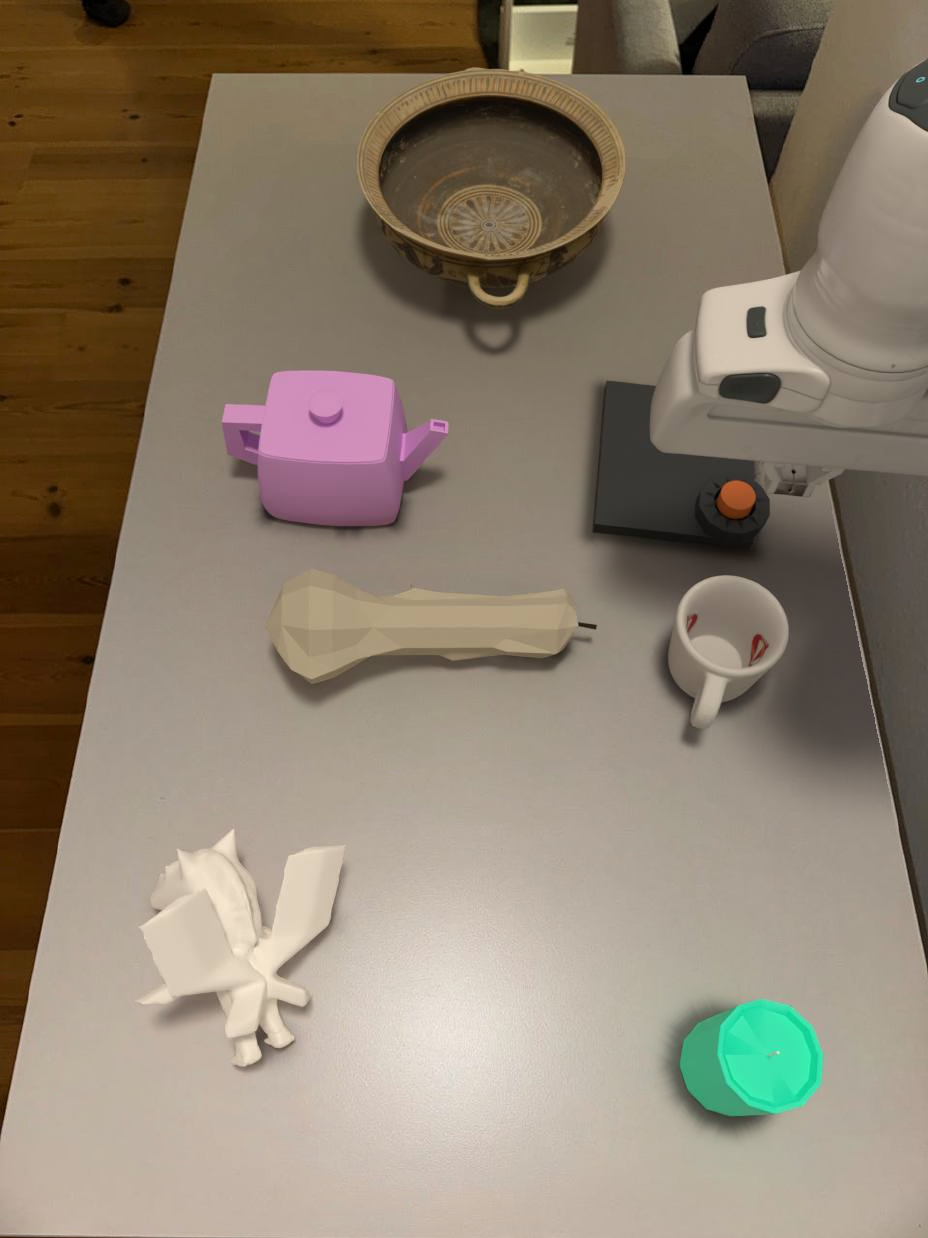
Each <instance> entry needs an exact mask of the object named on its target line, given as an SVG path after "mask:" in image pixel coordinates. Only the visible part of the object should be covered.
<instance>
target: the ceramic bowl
mask: <svg viewBox="0 0 928 1238" xmlns="http://www.w3.org/2000/svg"><path fill="white" fill-rule="evenodd" d="M626 158H627V157H626V150H625V146H624V142H623V139H622V137H621V135H620V132H619V131H618V128H617V127H616V125H615V123H614V122H613V121H612V119H611V118H610V117H609V115H608V114H607V113H606V112H605V111H604V109H602V108H601V106H599V105H598V104H597V103H596V102H595V101H594V100H592V99H591V98H589V97H588V96H586V95H585V94H584V93H583V92H580V91H579V90H577V89H575V88H574V87H572V86H570V85H568V84H565V83H563V82H561V81H558V80H555V79H552V78H550V77H547V76H544V75H540V74H537V73H536V74H535V73H531V72H527V71H522V70H509V69H505V68H491V69H490V68H483V67H476V66H475V67H469V68H466V69H464V70H460V71H453V72H450V73H446V74H445V75H443V74H442V75H439V76H435V77H431V78H430V79H426V80H425V81H424V82H419V83H417V84H415V85H413V86H411V87H409V88H407V89H406V90H404V91H402V92H400V93H398V94H397V95H396V96H394V97H392V98H391V99H390V100H389V101H387V102H386V103H385V104H384V105H383V106H382V107H381V108H380V109H379V110H378V111H377V112H376V113H375V114H374V116H373V117H372V118H371V119H370V121H369V122H368V124H367V125H366V126H365V129H364V131H363V132H362V134H361V137H360V139H359V142H358V146H357V150H356V164H355V165H356V174H357V175H356V176H357V181H358V183H359V186H360V188H361V191H362V194H363V196H364V199H366V201H367V203H368V204H369V205H370V207H371V209H372V210H373V212H374V216H375V219H376V221H377V224H378V227H379V228H380V230H381V233H382V234H383V236H384V237H385V238H386V240H387V241H388V242H389V244H390V245H391V246H392V248H394V250H395V251H396V252H397V253H398V254H399V255H400V256H402V257H403V258H404V259H405V260H406V261H408V262H409V263H410V264H411V265H413V266H414V267H416V268H417V269H419V270H421V271H422V272H425V273H426V274H429V276H433V277H435V278H438V279H441V280H443V281H446V282H448V283H449V282H450V283H453V284H457V285H461V286H467V287H468V288H469V291H470V293H471V294H472V297H474V298H475V300H477V301H478V303H480V304H482V305H484V306H486V307H487V308H494V309H507V308H510V307H513V306H515V305H517V304H518V303H520V302H521V301H522V300H523V298H524V297H525V295H526V293H527V291H528V287H529V284H530V283H533V282H536V281H540V280H541V279H544V278H547V277H549V276H552V275H553V274H555V273H557V272H559V271H560V270H562V269H564V268H566V267H567V266H568V265H570V264H571V263H573V262H574V261H576V260H577V259H578V258H579V257H580V256H581V255H582V254H583V253H584V252H585V251H586V250H587V249H588V248H589V246H590V245H591V244H592V243H593V241H594V240H595V239H596V237H597V235H598V234H599V232H600V230H601V229H602V226H603V224H604V220H605V218H606V216H607V214H608V213H609V212H610V211H611V210H612V208H613V206H614V204H615V202H616V200H617V199H618V196H619V194H620V192H621V190H622V186H623V183H624V180H625V177H626V168H627V159H626ZM509 287H510V288H511V287H514V289H513V290H512V291H511V292H510V293H509V294H507V295H504V296H494V295H491V294H488V293H487V292H486V291H484V290H483V288H494V289H496V288H498V289H499V288H509Z"/></svg>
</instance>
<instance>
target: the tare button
mask: <svg viewBox="0 0 928 1238" xmlns="http://www.w3.org/2000/svg"><path fill="white" fill-rule="evenodd" d="M755 500H756V495H755V492H754V490H753V488H752V487H751V486H750V485H748V484H747V483H745V482H742V481H730V482H728V483H726V484H725V485H724V486H723V487H722V489H721V492H720V494H719V496H718V499H717V507H718V510H719V511H720V512H721V514H723V515H724V516H725V517H727V518H730V519H742V518H744V517H746V516H747V515H748V514H749V513H750V511H751V509H752V507H753V505H754V503H755Z"/></svg>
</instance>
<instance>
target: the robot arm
mask: <svg viewBox="0 0 928 1238" xmlns="http://www.w3.org/2000/svg"><path fill="white" fill-rule="evenodd" d="M655 386H656V388H655V391H654V394H653V398H652V403H651V412H650V440H651V442H652V443H653V444H654V446H655V447H656V448H657V449H658V450H660V451H661V452H664V453H673V454H686V455H697V456H708V457H719V458H729V459H740V460H751V461H754V462H761V466H762V469H763V470H764V472H765V473H764V478H763V479H764V480H763V481H764V491H765V493H766V494H767V495H782V496H791V497H800V498H810V497H811V495H813V493H814V492H813V491H815V489H816V486H820V485H822V484H823V483H825V482H828V481H830V480H832V479H834V478H836V477H838V476H840V475H843V473H844V471H845V470H849V471H850V470H851V471H863V472H873V473H884V474H895V475H906V476H917V477H928V57H927V58H924V59H923V60H922V61H920V62H918V63H917V64H915V65H913V66H912V67H911V68H909V69H908V70H907V71H906V72H904V73H903V74H902V75H901V76H899V77H898V78H897V79H896V80H895V82H893V84H891V86H890V87H889V88H888V89H887V90H886V91H885V93H884V94H883V95H882V96H881V98H880V99H879V100H878V102H877V104H876V105H875V107H874V108H873V109H872V111H871V112H870V114H869V115H868V117H867V119H866V120H865V122H864V124H863V126H862V127H861V129H860V131H859V133H858V134H857V137H856V139H855V140H854V142H853V143H852V145H851V148H850V150H849V152H848V154H847V156H846V158H845V160H844V163H843V165H842V167H841V169H840V172H839V173H838V175H837V178H836V180H835V183H834V184H833V187H832V189H831V192H830V194H829V196H828V199H827V201H826V204H825V206H824V209H823V212H822V214H821V217H820V221H819V225H818V231H817V247H816V251H815V252H814V253H813V254H812V255H811V257H810V258H809V259H808V260H807V261H806V263H805V264H803V267H802V268H801V269H800V270H798V271H794V272H791V273H788V274H784V275H779V276H776V277H772V278H767V279H762V280H757V281H749V282H744V283H739V284H732V285H725V286H719V287H714V288H710V289H708V290H707V291H705V292H704V293H703V294H702V295H701V297H700V299H699V302H698V306H697V312H696V317H695V325H694V328H693V329H691V330H689V331H688V332H686V333H684V334H683V335H682V336H681V337H680V338H679V339H678V340H677V342H676V343H674V346H673V348H672V349H671V351H670V353H669V355H668V357H667V359H666V361H665V362H664V365H663V368H662V370H661V372H660V375H659V377H658V380H657V382H656V385H655Z"/></svg>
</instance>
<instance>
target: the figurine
mask: <svg viewBox="0 0 928 1238" xmlns="http://www.w3.org/2000/svg"><path fill="white" fill-rule="evenodd" d="M235 829H236V828H232V829H231V830H230V831H229V832H228V833H227V834H225V835H224V836H223V837H222V838H221V839H219V840H218V841H217V842H216V843H215V844H213V845H212V846H211V847H209V848H208V847H207V848H199V849H198V850H194V851H192V853H191V852H188V851H186V850H183V849H180V848H176V854H177V860H175V861H173V862H171V863H169V864H167V865H165V866H164V873H159V877H158V881H157V884H156V887H155V888H154V890H153V891H152V893H151V895H150V896H149V903H150V906H151V907H152V908H153V909H155V910H158V911H159V910H160V911H159V912H157V914H156V915H154V916H153V917H152V918H150V919H149V920H148V921H147V922H145V923H143V924H142V925H139V926H138V930H140V931H142V934H143V938H144V942H145V943H146V946H147V947H148V949H149V951H150V952H151V956H152V961H153V963H154V964H155V966H156V967H157V969H158V972H159V974H160V977H161V978H162V979H163V983H161V984H160V985H159V986H157V987H156V988H153V989H152V990H151V991H149V992H147V993H146V994H143V995H142V996H140V997H138V998H137V999H135V1000H134V1001H133V1003H135V1004H140V1005H143V1006H153V1005H156V1006H157V1005H158V1006H163V1005H166V1004H169V1003H172V1002H174V1001H176V1000H177V999H179V998H180V997H183V996H191V995H199V994H207V993H212V992H213V993H216V995H217V998H218V1000H219V1002H220V1006H221V1007H222V1010H223V1013H224V1015H225V1018H226V1021H225V1025H224V1029H223V1030H224V1034H225V1038H227V1039H231V1040H232V1042H233V1044H234V1047H235V1049H236V1051H235V1054H234V1055H233V1056H231V1057H230V1058H229V1059H230V1060H229V1062H230V1064H231V1065H233V1066H234V1065H235V1066H238V1067H242V1068H243V1067H244V1068H245V1067H247V1066H248V1065H253V1064H256V1063H257V1062H258V1061H260V1060H261V1059H262V1055H263V1054H262V1051H261V1048H260V1046H259V1044H258V1039H257V1035H256V1032H257V1030H258V1029H259V1026H260V1028H261V1029H262V1030H263V1032H264V1033H265V1034H266V1035H267V1037H266V1038H265V1039H264V1040H263V1042H264V1043H265V1044H266V1045H268V1046H269V1045H270V1046H272V1047H273V1048H276V1049H282V1048H284V1047H286V1046H289V1044H291V1043H292V1042H293V1041H294V1040H295V1036H294V1034H292V1033H291V1032H290V1030H289V1029H287V1027H286V1025H285V1023H284V1021H283V1019H282V1018H281V1015H280V1012H279V1011H280V1010H279V1008H278V1000H279V1001H282V1002H285V1003H288V1004H291V1005H294V1006H297V1007H306V1005H307V1004H308V1002H309V1001H310V998H311V993H310V990H309V989H308V988H307V986H305V985H304V984H301V983H298V982H296V981H293V980H290V979H287V978H284V977H282V976H280V975H278V973H277V971H278V970H279V968H281V967H282V966H283V965H285V963H287V962H288V961H289V960H290V959H291V958H292V957H294V956H295V955H296V954H297V953H299V952H300V951H301V950H302V949H303V948H304V947H306V946H307V945H308V944H309V943H310V942H311V941H312V940H314V939H315V938H316V937H317V936H318V935H319V934H320V933H322V932H323V931H324V930H326V928H327V927H328V926H329V925H330V921H331V919H332V909H333V907H334V902H335V898H336V896H337V890H338V886H339V883H340V874H341V870H342V866H343V861H344V855H345V850H346V848H347V844H343V845H322V846H321V845H319V846H311V847H307V848H304V849H302V850H301V851H299V852H297V853H293V854H289V855H288V856H287V859H286V864H285V866H284V870H283V873H284V875H283V880H282V883H281V888H280V889H279V895H278V899H277V902H276V906H275V914H274V915H275V916H274V920H273V922H272V923H273V924H272V926H271V928H270V927H268V926H265V925H263V918H262V912H261V908H260V904H259V900H258V892H257V885H256V883H255V881H254V878H253V877H252V874H251V873H250V872H249V871H248V870H247V868H245V867H244V866H243V864H242V863H241V862H240V861H239V858H238V852H237V843H236V842H237V841H236V834H235Z"/></svg>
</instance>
